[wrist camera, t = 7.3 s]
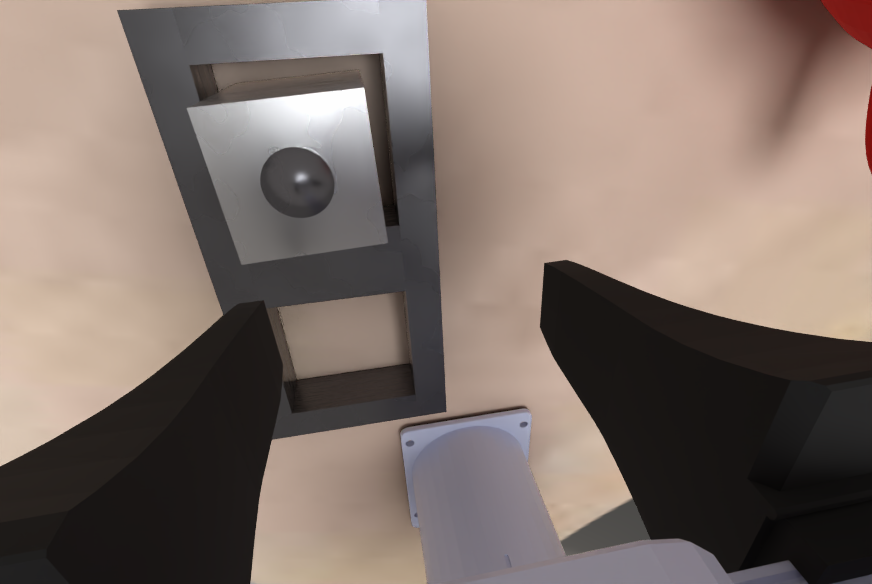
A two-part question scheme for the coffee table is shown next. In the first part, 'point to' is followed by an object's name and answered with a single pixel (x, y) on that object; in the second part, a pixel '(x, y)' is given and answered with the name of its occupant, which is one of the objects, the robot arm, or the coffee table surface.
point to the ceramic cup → (868, 23)
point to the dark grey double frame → (331, 271)
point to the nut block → (293, 165)
